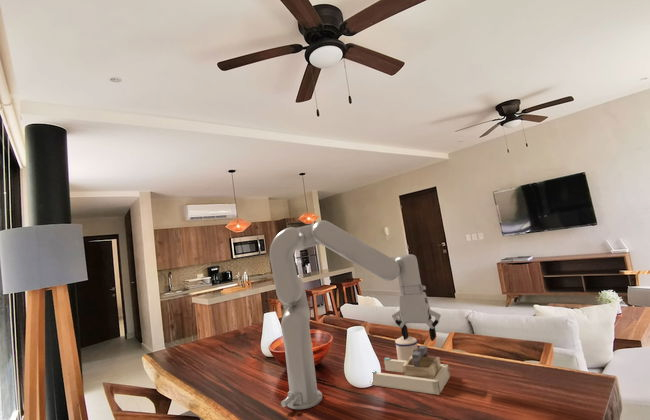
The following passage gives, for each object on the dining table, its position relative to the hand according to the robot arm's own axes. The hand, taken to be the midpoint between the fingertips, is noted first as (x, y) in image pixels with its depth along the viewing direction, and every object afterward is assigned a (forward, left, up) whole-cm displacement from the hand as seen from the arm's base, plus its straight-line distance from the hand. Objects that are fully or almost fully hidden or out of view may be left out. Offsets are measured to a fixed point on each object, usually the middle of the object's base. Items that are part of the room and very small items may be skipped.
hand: (419, 339), depth 115 cm
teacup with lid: (+19, +12, -16) cm, 27 cm away
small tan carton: (0, 0, -15) cm, 15 cm away
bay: (0, +5, -16) cm, 17 cm away
